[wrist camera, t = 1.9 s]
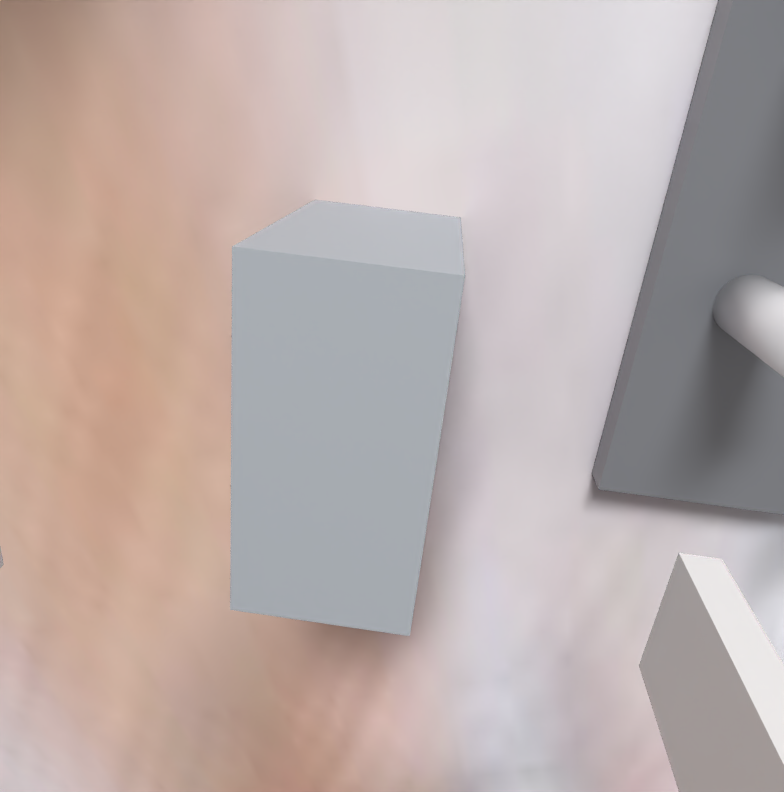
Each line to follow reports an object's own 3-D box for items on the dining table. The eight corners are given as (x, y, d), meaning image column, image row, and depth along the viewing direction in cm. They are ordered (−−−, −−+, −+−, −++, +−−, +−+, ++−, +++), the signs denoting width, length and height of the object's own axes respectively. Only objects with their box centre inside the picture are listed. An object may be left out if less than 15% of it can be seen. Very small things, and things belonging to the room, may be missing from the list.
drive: (299, 454, 26) (228, 609, 18) (314, 199, 22) (230, 246, 14) (425, 471, 26) (411, 636, 17) (462, 217, 22) (467, 275, 13)
